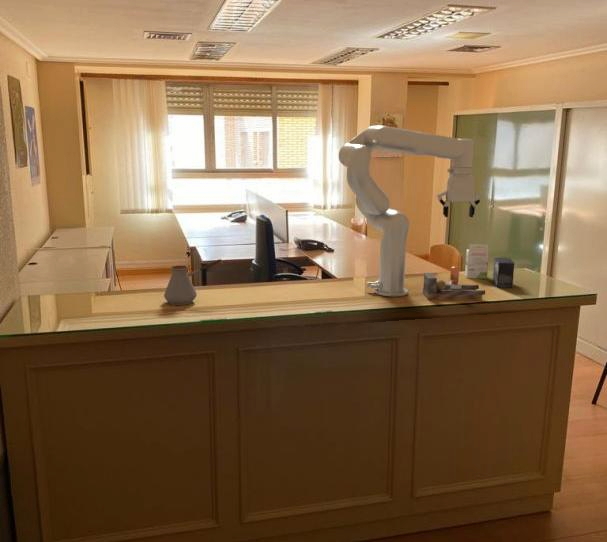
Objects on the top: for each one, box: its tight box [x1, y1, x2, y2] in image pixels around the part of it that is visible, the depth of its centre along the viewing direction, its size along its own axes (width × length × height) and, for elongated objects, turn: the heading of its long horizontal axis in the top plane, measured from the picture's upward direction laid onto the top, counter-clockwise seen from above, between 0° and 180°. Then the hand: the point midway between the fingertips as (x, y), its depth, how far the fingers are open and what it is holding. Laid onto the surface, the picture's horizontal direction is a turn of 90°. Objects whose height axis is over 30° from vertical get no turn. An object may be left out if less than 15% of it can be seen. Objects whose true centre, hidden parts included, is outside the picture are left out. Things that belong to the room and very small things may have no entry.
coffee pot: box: [163, 258, 224, 306], centre depth 213 cm, size 21×12×15 cm, turn 108°
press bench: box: [422, 272, 486, 301], centre depth 222 cm, size 21×9×8 cm, turn 90°
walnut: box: [436, 279, 447, 292], centre depth 222 cm, size 4×4×4 cm
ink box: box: [464, 243, 490, 279], centre depth 252 cm, size 9×5×15 cm, turn 84°
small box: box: [492, 256, 516, 289], centre depth 240 cm, size 11×6×10 cm, turn 172°
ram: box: [446, 265, 462, 290], centre depth 222 cm, size 4×6×9 cm, turn 0°
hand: (458, 216), depth 229 cm, fingers open, 9 cm apart
